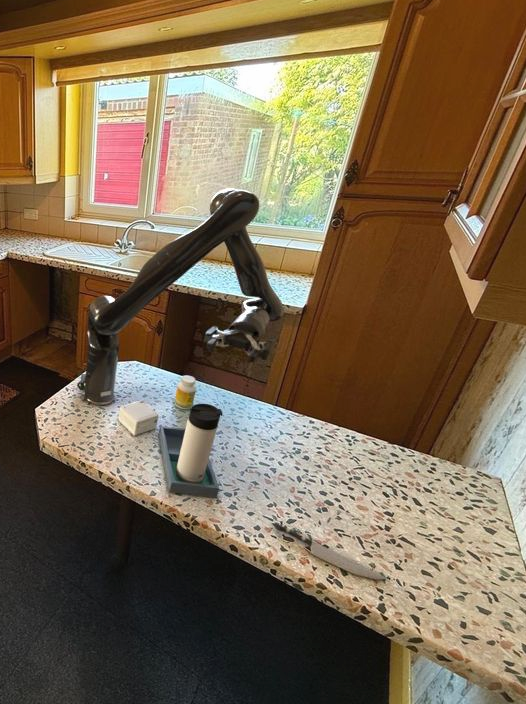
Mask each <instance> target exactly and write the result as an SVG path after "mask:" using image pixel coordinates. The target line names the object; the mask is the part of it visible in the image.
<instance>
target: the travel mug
mask: <svg viewBox="0 0 526 704" xmlns="http://www.w3.org/2000/svg"><path fill="white" fill-rule="evenodd" d="M221 417H223V411H222V409H221V408H218V407H216V406H214V405H213V404H209V403H197V404H193V405H192V407H191V408H190V409H189V414H188V417H187V421H186V426H185V429H186V430H185V434H184V438H183V443H182V447H181V451H180V456H179V460H178V464H177V469H176V474H177V476H178V478H179V479H180V480H181V481H183V482H188V483H197V484H200V483H201V482H202V481H203V478H204V474H205V470H206V467H207V463H208V460H209V459H210V455H211V452H212V449H213V444H214V441H215V437H216V434H217V430H218V427H219V422H220V418H221Z"/></svg>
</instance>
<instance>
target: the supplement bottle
mask: <svg viewBox="0 0 526 704" xmlns="http://www.w3.org/2000/svg"><path fill="white" fill-rule="evenodd" d="M196 382H197V381H196V378H195V377H194V376H191V375H188V374H187V375H182V376H181V379H180V381H179V382H178V383H177V388H176V392H175V395H174V396H175V397H174V400H173V401H174V405H175V406H176V407H177V408H178V409H180V410H181V409H182V410H191V408H192V406H194V401H195V396H196V393H197V392H196V391H197V386H196Z"/></svg>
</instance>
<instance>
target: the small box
mask: <svg viewBox="0 0 526 704" xmlns="http://www.w3.org/2000/svg"><path fill="white" fill-rule="evenodd" d="M158 420H159V413H158V412H157V411H155V410H154V409H153V408H151V406H149V405H148V404H147V403H146V402H144V400H138V401H135V402H130V403H127V404H124V405H121V406H119V414H118V421H119V422H120V423H121V424H122V425H123V426H124V427H125V428H126V429H127V430H128V431H129V433H130V434H132V436H137V435H140V434H142V433H146V432H148V431H152V430H156V429H157V425H158Z"/></svg>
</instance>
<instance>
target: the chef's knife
mask: <svg viewBox="0 0 526 704" xmlns="http://www.w3.org/2000/svg"><path fill="white" fill-rule="evenodd" d="M273 525H274V528H275V529H276V530H277V531H278V532H282V533H284V534H287V535H289V536H291V537H293V538H295V539H297V540H299V541H300V542H302V543H303V544H306V545H308V546H309V547H310V552H311V555H313V556H316V557H317V558H320V559H321V560H324V561H325V562H328V563H330V564H332V565H334V566H336V567H338V568H340V569H342V570H344V571H346V572H349V573H351V574H353V575H357V576H361V577H365V578H370V579H374V580H388V578H387V577H385V576H383V575H381V574H380V573H378V572H376V571H374V570H372V569H369V568H368V567H365V566H364V565H361V564H359V563H358V562H356V561H354V560H351V559H350V558H348V557H346V556H343V555H341V554H340V553H337V552H335V551H334V550H332V549H330V548H327V547H326V546H324V545H321V544H319V543H317V542H315V541H314V540H311V539H309V538H307V537H305V536H303V535H301V534H299V533H297V532H295V531H292V530H291V529H288V528H286V527H285V526H283V525H281V524H279V523H278V524H277V523H275V524H273Z"/></svg>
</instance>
